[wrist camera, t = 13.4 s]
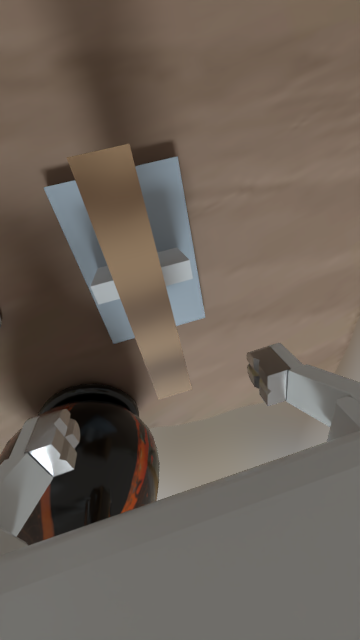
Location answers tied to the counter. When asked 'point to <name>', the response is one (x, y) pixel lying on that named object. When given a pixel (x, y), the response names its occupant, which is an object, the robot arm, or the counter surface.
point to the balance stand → (169, 237)
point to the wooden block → (132, 260)
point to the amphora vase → (95, 463)
